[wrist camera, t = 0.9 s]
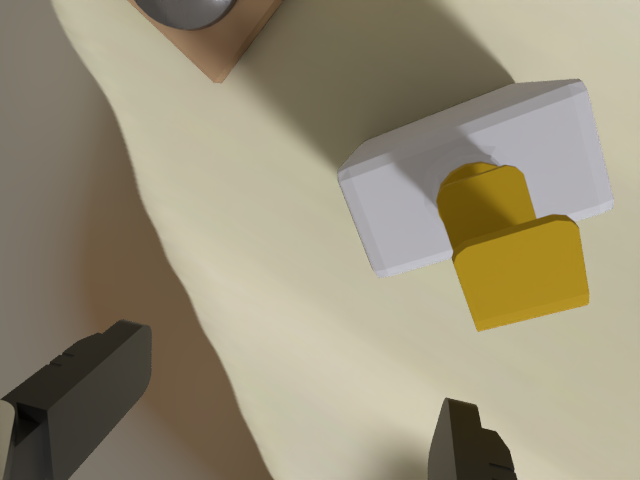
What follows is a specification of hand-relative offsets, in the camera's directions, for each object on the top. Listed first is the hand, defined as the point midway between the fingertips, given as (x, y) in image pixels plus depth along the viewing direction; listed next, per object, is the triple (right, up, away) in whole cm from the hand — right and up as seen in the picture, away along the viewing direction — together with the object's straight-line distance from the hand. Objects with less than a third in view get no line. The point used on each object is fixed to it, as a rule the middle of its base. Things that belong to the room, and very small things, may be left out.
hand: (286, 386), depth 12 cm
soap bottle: (+11, +10, +22) cm, 26 cm away
